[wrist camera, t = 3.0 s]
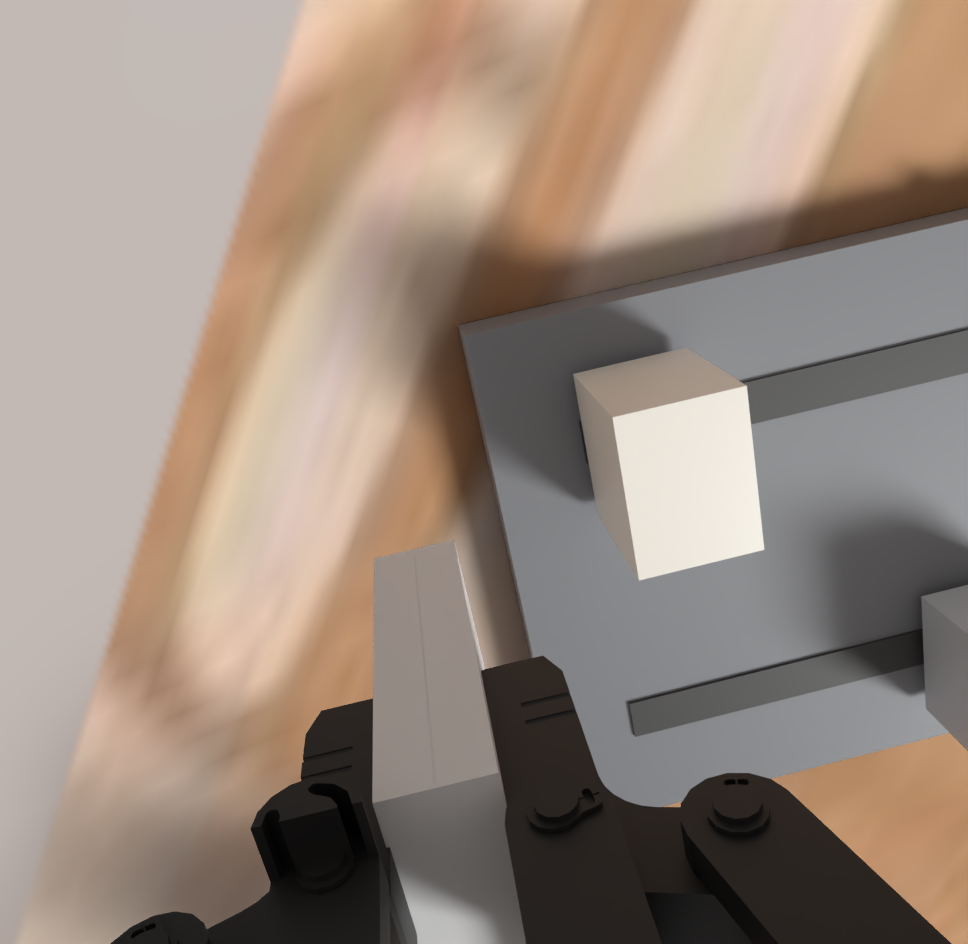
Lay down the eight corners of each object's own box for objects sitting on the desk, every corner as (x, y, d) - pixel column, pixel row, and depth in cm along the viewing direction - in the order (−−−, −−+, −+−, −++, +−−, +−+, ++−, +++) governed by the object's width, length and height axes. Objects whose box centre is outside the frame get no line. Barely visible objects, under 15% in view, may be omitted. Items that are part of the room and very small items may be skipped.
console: (562, 802, 30) (572, 837, 29) (456, 318, 25) (462, 329, 23) (1134, 656, 31) (1172, 682, 30) (1161, 155, 25) (1212, 156, 24)
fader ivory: (597, 514, 25) (639, 580, 21) (573, 373, 23) (612, 417, 20) (704, 488, 25) (764, 549, 21) (686, 347, 24) (747, 385, 20)
